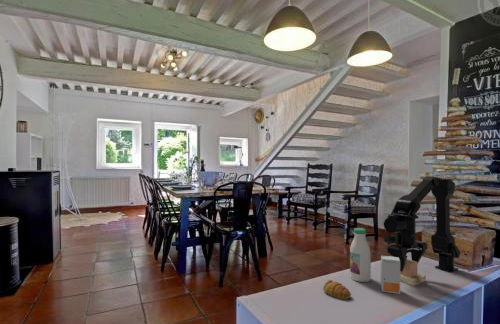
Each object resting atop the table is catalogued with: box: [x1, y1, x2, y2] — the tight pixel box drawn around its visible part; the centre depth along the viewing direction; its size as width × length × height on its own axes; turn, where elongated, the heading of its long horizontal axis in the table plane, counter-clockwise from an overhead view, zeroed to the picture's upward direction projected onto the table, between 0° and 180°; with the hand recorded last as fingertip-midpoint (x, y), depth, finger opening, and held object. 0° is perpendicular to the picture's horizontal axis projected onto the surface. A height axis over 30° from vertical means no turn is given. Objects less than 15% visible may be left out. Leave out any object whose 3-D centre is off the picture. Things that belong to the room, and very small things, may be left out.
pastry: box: [322, 279, 352, 300], centre depth 98 cm, size 9×7×4 cm
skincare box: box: [380, 255, 401, 295], centre depth 101 cm, size 6×4×12 cm
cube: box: [400, 258, 419, 277], centre depth 112 cm, size 5×5×5 cm
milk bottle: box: [349, 227, 372, 283], centre depth 112 cm, size 8×8×20 cm
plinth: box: [400, 272, 427, 286], centre depth 111 cm, size 9×9×2 cm
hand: (407, 269), depth 112 cm, fingers open, 9 cm apart
